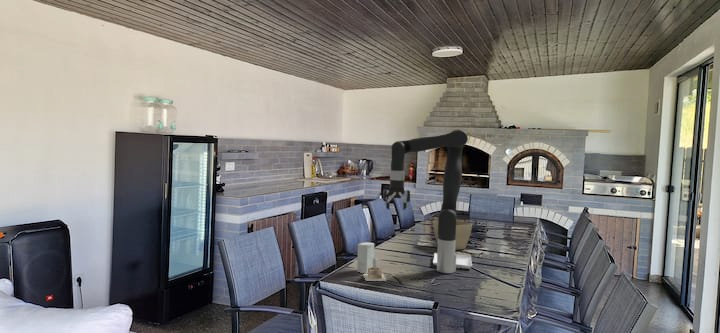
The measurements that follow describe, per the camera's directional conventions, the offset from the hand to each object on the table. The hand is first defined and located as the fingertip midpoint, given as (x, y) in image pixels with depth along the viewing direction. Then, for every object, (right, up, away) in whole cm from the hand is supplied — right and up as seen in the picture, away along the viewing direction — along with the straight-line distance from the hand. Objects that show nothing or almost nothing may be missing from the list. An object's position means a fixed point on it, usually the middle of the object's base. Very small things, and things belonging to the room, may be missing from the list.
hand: (396, 209), depth 230 cm
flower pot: (+41, -31, +54) cm, 74 cm away
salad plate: (+33, -33, +15) cm, 49 cm away
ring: (-12, -32, -16) cm, 37 cm away
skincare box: (-16, -32, -4) cm, 36 cm away
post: (-12, -33, -16) cm, 38 cm away
